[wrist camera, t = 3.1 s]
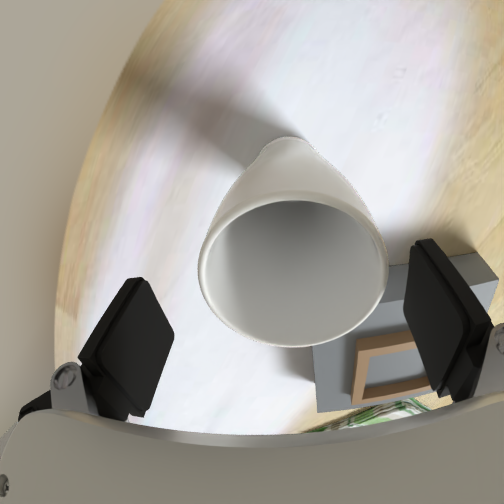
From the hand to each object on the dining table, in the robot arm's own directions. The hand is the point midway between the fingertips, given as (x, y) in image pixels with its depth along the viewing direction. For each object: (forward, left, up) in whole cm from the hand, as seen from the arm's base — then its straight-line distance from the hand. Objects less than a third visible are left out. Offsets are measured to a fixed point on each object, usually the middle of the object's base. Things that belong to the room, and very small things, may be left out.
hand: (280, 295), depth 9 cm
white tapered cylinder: (0, +1, -15) cm, 15 cm away
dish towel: (+52, +12, -16) cm, 55 cm away
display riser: (+21, +11, -15) cm, 28 cm away
